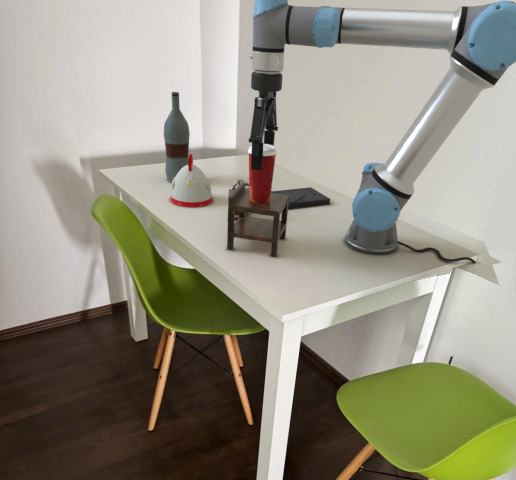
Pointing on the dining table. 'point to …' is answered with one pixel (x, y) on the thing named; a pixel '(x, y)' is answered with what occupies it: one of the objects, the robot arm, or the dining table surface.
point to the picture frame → (304, 197)
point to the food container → (233, 191)
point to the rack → (257, 226)
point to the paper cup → (262, 175)
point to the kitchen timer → (191, 187)
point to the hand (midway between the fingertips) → (262, 162)
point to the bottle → (176, 140)
